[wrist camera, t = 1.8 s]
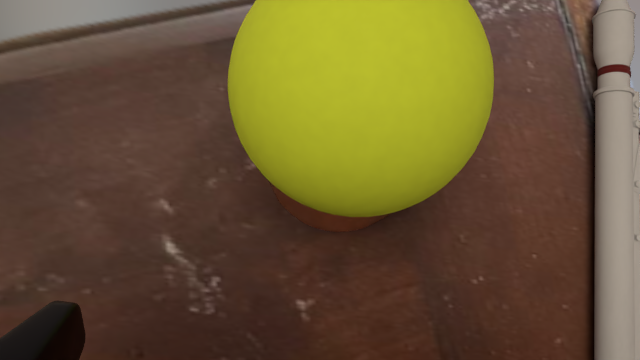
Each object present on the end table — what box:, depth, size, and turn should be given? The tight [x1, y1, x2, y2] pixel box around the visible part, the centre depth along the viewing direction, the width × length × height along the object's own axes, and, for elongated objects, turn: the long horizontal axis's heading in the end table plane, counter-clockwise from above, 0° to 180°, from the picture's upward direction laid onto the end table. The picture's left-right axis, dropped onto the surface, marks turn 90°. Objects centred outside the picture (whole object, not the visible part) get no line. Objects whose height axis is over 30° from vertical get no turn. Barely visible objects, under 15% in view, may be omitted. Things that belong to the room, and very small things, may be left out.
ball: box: [228, 0, 494, 217], centre depth 15 cm, size 7×7×7 cm
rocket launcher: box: [592, 0, 640, 360], centre depth 22 cm, size 20×2×4 cm
